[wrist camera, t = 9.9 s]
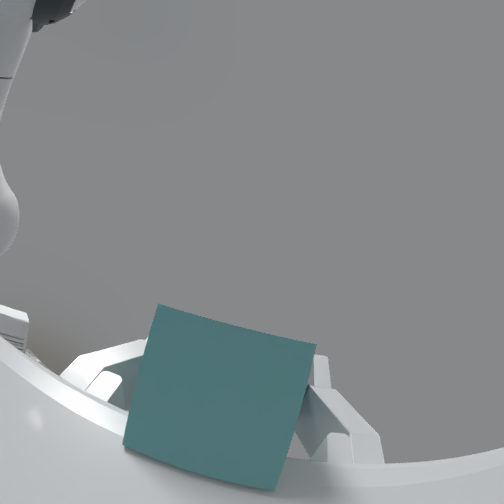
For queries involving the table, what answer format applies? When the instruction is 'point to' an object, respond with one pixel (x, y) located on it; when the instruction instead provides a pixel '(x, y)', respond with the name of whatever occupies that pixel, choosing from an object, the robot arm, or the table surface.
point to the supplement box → (14, 327)
